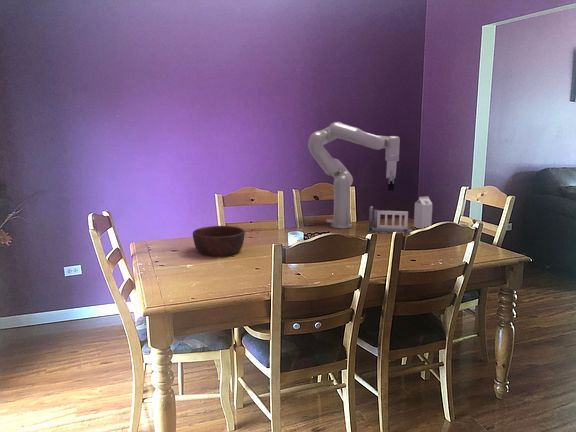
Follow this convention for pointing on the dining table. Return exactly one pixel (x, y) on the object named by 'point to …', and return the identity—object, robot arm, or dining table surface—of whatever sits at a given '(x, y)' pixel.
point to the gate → (393, 213)
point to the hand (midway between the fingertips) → (390, 190)
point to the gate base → (373, 230)
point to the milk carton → (423, 212)
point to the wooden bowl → (218, 240)
